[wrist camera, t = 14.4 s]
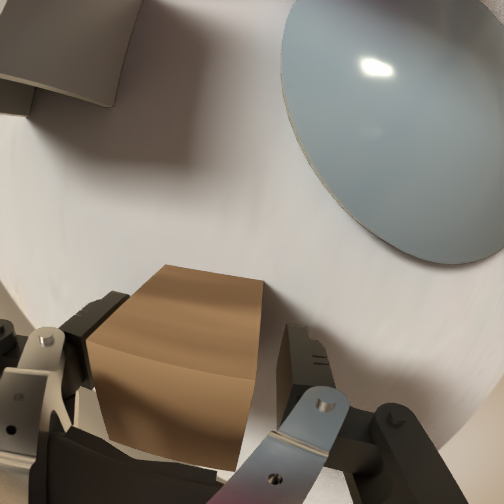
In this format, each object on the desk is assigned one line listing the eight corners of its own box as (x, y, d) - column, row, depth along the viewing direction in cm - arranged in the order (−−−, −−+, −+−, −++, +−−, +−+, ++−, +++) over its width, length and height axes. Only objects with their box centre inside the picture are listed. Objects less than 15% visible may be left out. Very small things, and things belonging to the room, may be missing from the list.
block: (165, 264, 12) (85, 340, 6) (263, 280, 11) (255, 380, 6) (163, 345, 13) (109, 439, 7) (249, 361, 12) (235, 472, 7)
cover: (52, 18, 8) (-32, -22, 2) (145, -6, 8) (68, -90, 1) (24, 117, 10) (-83, 111, 3) (113, 107, 10) (-20, 68, 3)
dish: (460, -25, 6) (469, -33, 5) (551, 200, 9) (564, 203, 8) (223, 2, 8) (218, -12, 7) (359, 306, 11) (367, 319, 10)
